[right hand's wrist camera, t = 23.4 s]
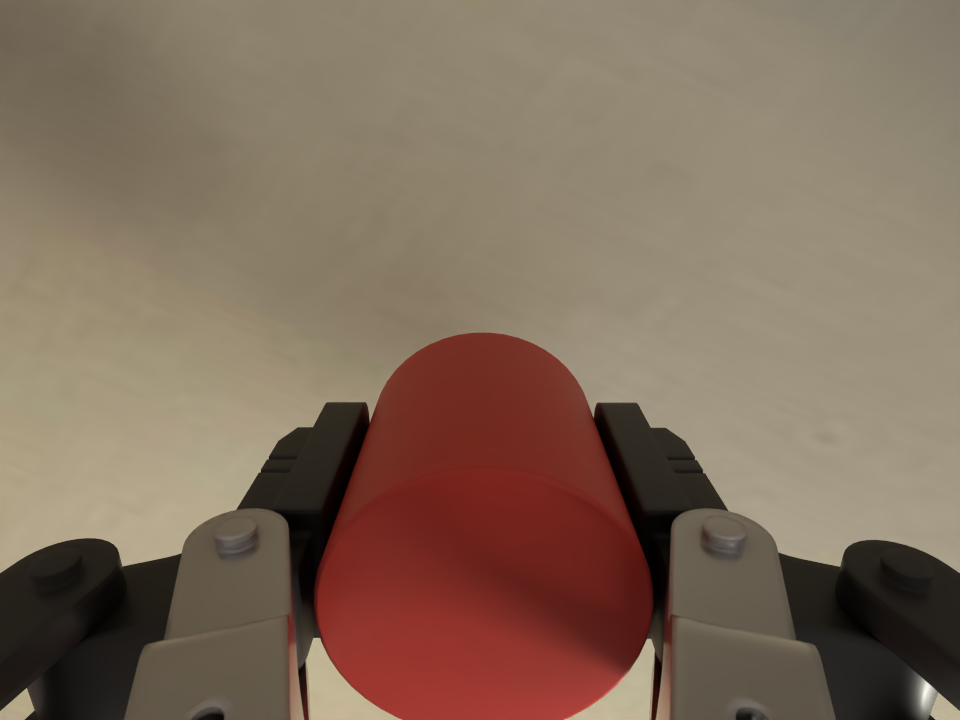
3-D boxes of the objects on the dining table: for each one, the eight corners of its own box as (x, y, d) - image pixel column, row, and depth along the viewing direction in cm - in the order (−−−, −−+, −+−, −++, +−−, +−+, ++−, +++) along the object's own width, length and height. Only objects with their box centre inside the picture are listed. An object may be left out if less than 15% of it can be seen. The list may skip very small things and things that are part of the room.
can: (341, 478, 13) (265, 676, 8) (426, 293, 11) (391, 411, 7) (529, 553, 14) (553, 775, 9) (631, 387, 12) (722, 551, 8)
